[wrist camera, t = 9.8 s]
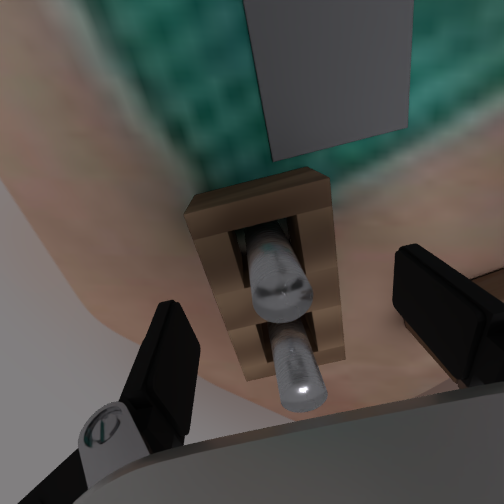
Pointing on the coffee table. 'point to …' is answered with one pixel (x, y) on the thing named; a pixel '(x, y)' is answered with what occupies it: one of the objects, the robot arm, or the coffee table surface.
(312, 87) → the mat
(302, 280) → the peg
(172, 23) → the coffee table surface
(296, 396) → the seated peg
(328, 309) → the hole block
